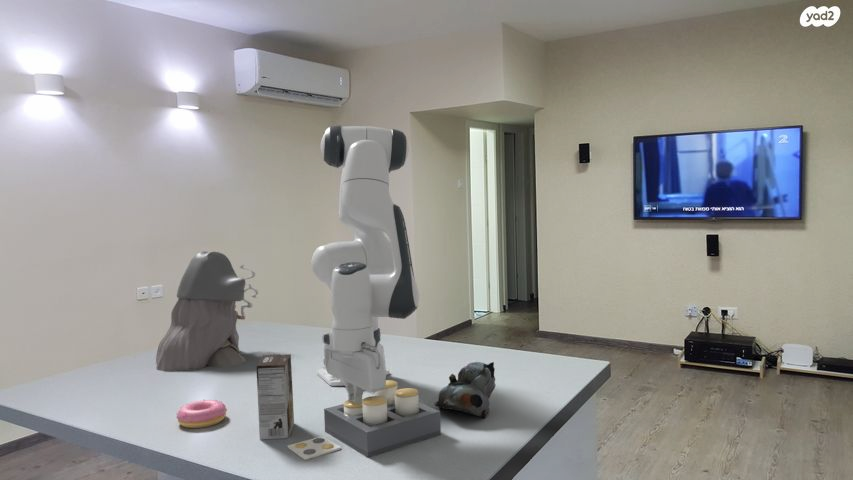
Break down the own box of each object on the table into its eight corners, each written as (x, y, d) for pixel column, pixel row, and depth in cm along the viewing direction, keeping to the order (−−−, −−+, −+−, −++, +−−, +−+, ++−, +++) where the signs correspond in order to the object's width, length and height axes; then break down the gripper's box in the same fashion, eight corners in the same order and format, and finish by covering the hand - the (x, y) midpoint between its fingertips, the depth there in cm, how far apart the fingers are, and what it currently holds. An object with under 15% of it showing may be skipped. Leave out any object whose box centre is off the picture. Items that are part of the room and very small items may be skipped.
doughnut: (226, 427, 139) (225, 408, 139) (174, 433, 136) (173, 415, 135) (227, 411, 149) (226, 394, 149) (179, 417, 146) (178, 400, 146)
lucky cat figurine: (429, 405, 148) (448, 350, 152) (475, 422, 149) (493, 367, 153) (440, 407, 134) (461, 346, 138) (491, 426, 135) (510, 365, 139)
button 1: (340, 425, 133) (339, 402, 133) (360, 419, 136) (359, 397, 136) (351, 431, 129) (351, 408, 129) (372, 425, 132) (371, 403, 132)
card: (287, 447, 125) (287, 444, 125) (323, 437, 130) (322, 435, 130) (304, 460, 119) (304, 457, 119) (341, 449, 124) (341, 446, 124)
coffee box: (266, 424, 139) (262, 354, 138) (294, 423, 139) (291, 353, 138) (258, 440, 130) (254, 365, 129) (289, 438, 130) (286, 363, 129)
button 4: (391, 414, 131) (390, 391, 131) (410, 409, 134) (409, 386, 134) (404, 420, 127) (403, 397, 127) (423, 415, 130) (423, 392, 130)
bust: (280, 351, 208) (275, 248, 206) (195, 377, 179) (188, 258, 177) (214, 342, 226) (209, 247, 224) (127, 364, 197) (120, 255, 195)
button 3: (371, 405, 138) (370, 383, 137) (390, 400, 141) (389, 378, 140) (383, 410, 134) (382, 388, 133) (402, 405, 137) (401, 383, 136)
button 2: (358, 423, 127) (357, 399, 126) (379, 417, 129) (378, 394, 129) (371, 430, 123) (370, 405, 122) (392, 424, 125) (391, 400, 125)
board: (324, 431, 134) (324, 408, 133) (393, 412, 144) (393, 391, 144) (367, 457, 119) (366, 432, 119) (440, 434, 130) (440, 411, 130)
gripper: (392, 345, 125) (394, 411, 126) (343, 329, 141) (345, 388, 142) (365, 350, 121) (367, 418, 122) (318, 334, 138) (320, 394, 138)
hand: (355, 402), depth 132 cm, fingers closed, pressing on button 1
